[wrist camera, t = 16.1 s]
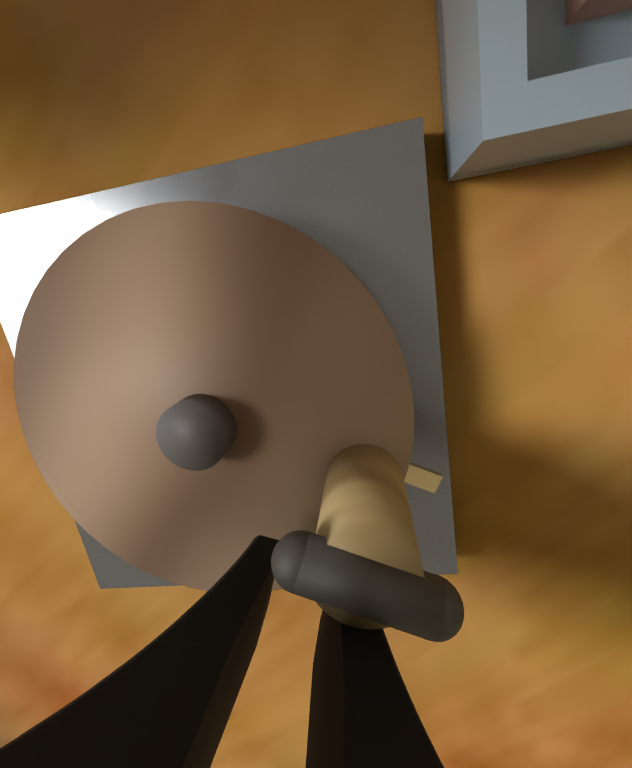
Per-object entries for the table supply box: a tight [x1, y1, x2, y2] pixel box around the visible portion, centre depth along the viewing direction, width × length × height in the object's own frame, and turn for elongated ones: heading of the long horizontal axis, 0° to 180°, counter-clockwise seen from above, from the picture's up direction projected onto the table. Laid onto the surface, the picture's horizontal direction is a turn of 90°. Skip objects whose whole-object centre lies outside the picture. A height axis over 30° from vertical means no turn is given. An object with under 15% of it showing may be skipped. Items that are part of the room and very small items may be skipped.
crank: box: [14, 200, 464, 642], centre depth 8 cm, size 12×11×5 cm
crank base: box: [0, 117, 458, 589], centre depth 12 cm, size 13×13×1 cm
